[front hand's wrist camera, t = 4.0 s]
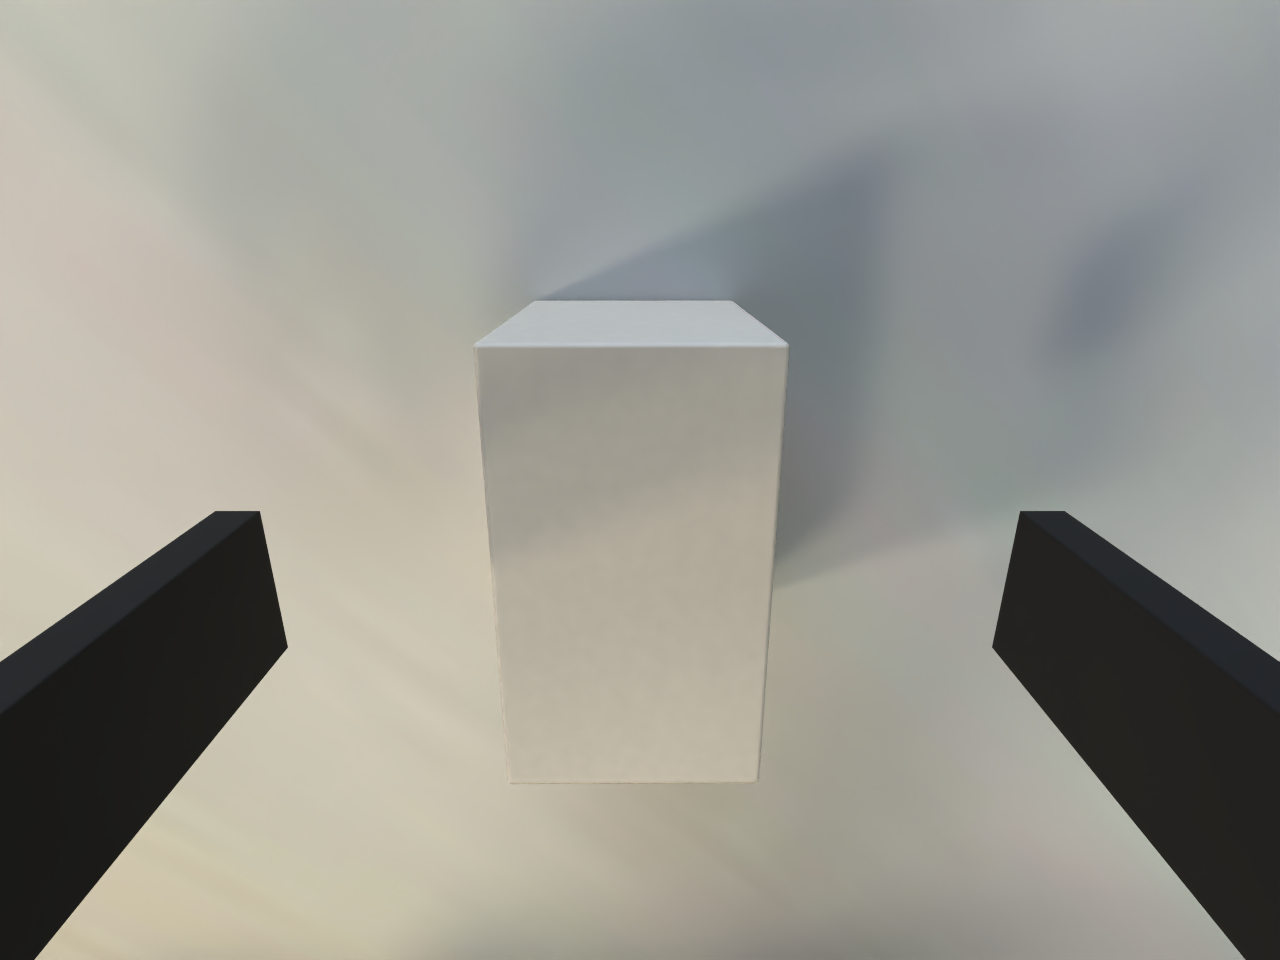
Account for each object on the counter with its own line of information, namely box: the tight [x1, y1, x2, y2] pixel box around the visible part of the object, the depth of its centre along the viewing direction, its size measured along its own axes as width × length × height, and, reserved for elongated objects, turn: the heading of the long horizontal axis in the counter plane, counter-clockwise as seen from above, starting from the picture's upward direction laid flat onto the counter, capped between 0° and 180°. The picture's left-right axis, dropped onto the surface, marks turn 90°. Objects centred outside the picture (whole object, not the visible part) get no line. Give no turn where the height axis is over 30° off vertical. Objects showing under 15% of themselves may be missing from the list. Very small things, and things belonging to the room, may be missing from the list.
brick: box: [474, 301, 789, 784], centre depth 16 cm, size 9×5×7 cm, turn 0°
